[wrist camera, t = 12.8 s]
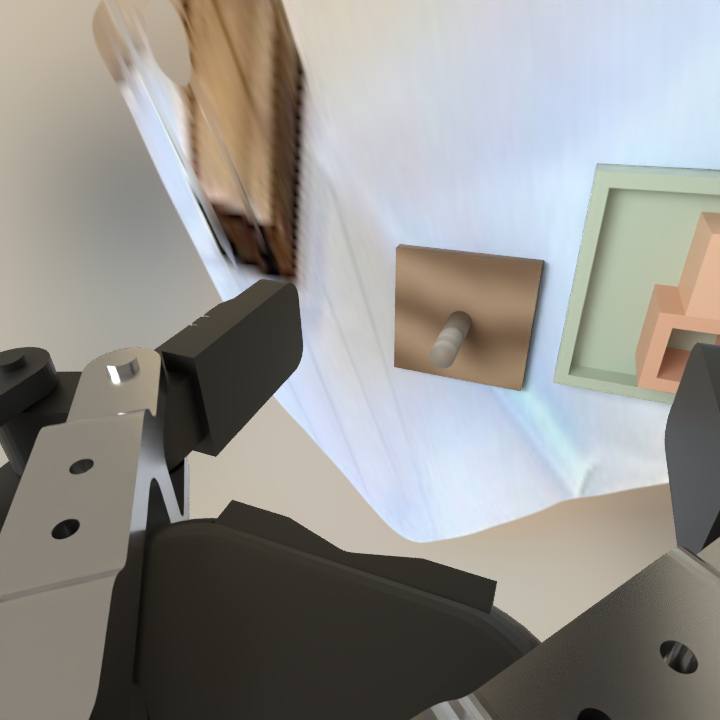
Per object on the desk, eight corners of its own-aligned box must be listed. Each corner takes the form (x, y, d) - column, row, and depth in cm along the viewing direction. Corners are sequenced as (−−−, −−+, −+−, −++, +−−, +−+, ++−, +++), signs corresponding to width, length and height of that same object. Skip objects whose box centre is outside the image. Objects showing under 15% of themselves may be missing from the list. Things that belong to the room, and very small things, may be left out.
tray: (597, 163, 38) (596, 171, 35) (900, 179, 32) (920, 189, 30) (555, 367, 46) (553, 382, 44) (788, 407, 41) (797, 427, 39)
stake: (399, 244, 46) (368, 275, 40) (543, 260, 42) (532, 297, 36) (397, 361, 52) (370, 403, 47) (522, 385, 49) (510, 434, 43)
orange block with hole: (721, 367, 40) (733, 403, 36) (634, 353, 42) (637, 387, 38) (780, 217, 34) (802, 241, 30) (676, 209, 36) (684, 231, 32)
